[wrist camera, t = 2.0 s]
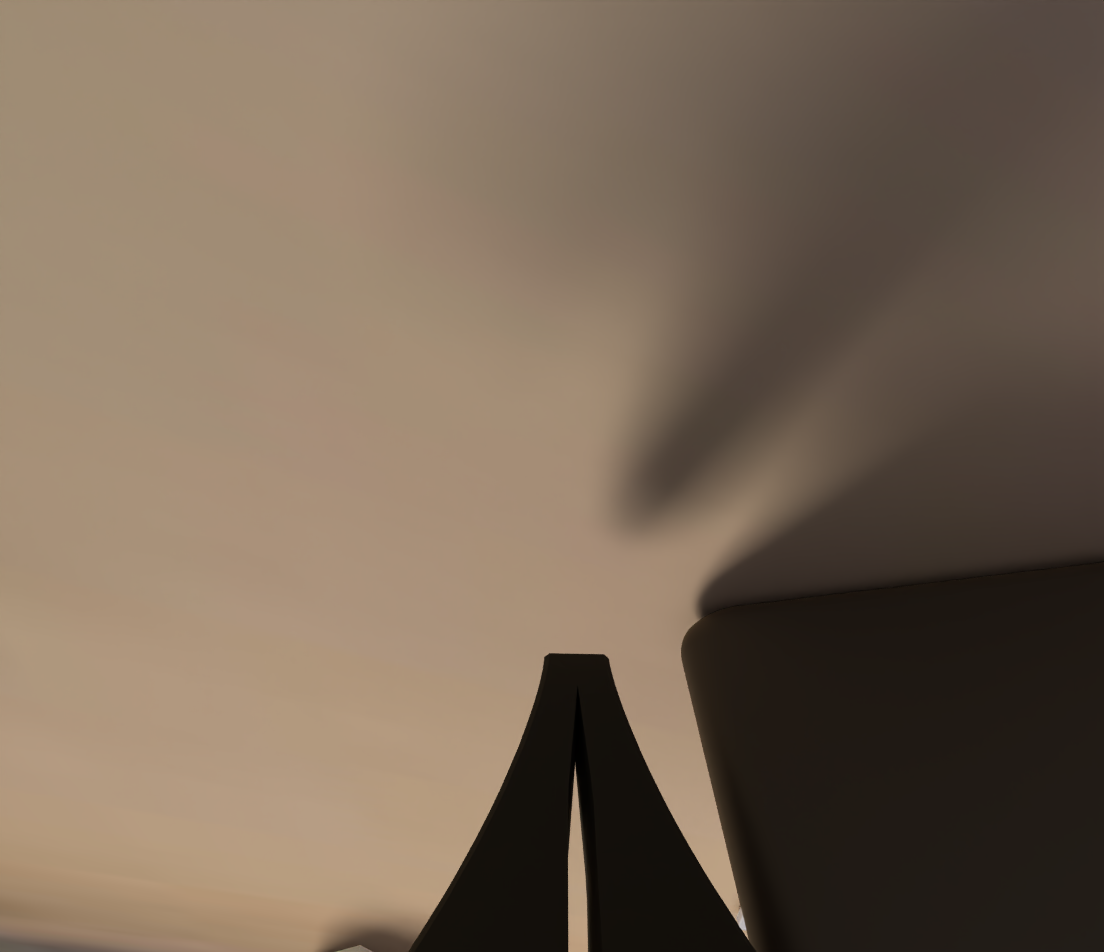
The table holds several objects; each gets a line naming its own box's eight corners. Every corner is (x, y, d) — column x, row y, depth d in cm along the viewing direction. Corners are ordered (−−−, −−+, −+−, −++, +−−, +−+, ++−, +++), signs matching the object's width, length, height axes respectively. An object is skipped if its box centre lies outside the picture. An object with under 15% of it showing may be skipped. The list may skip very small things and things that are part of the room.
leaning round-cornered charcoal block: (680, 698, 17) (783, 1170, 9) (669, 596, 15) (793, 1098, 7) (1233, 643, 15) (2008, 1179, 7) (1314, 517, 13) (2579, 1079, 5)
